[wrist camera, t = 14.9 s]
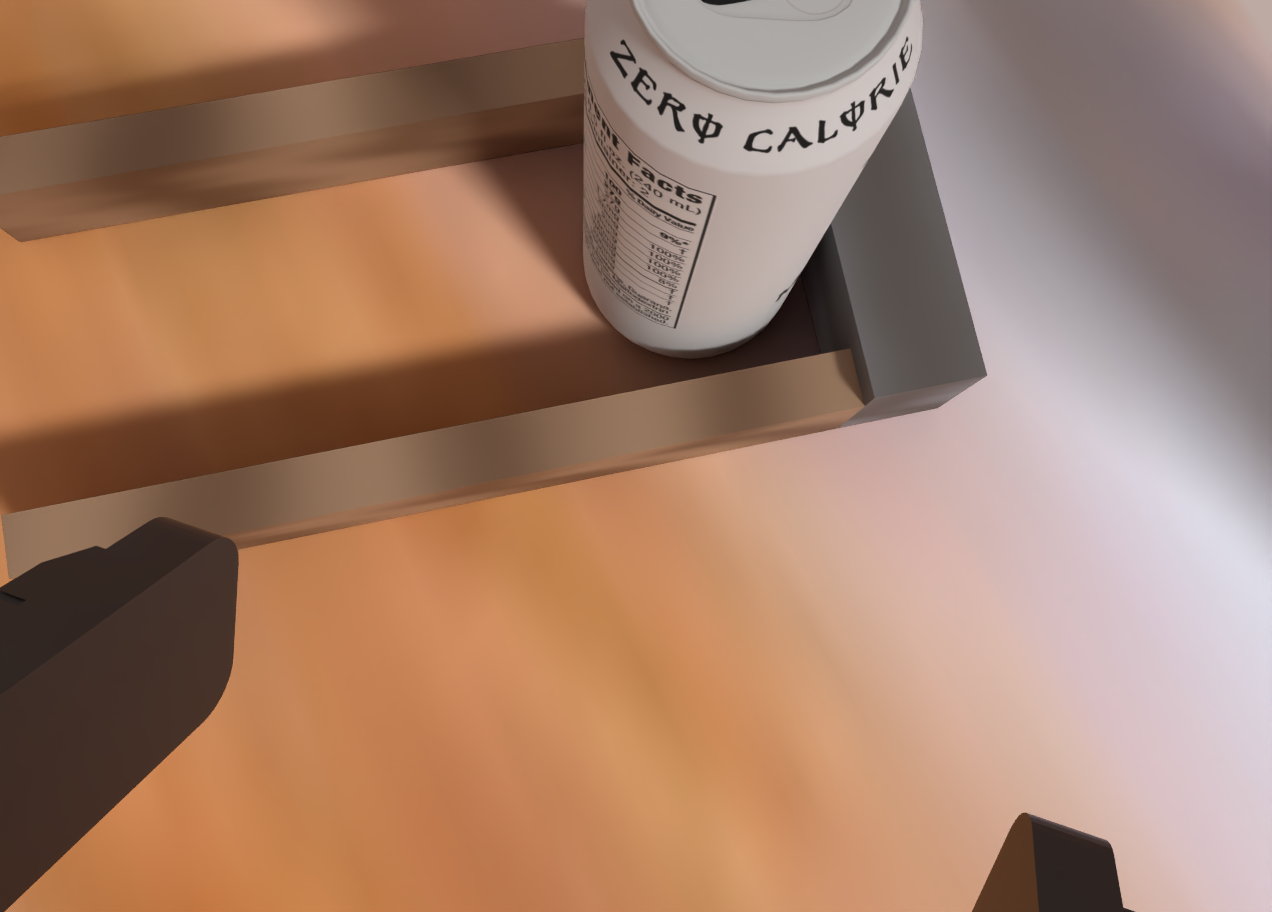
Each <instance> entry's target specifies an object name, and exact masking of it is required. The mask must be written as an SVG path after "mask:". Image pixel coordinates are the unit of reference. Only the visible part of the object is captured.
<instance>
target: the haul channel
mask: <svg viewBox="0 0 1272 912" xmlns="http://www.w3.org/2000/svg"><path fill="white" fill-rule="evenodd" d="M582 142H584V38H581V39H575V40H569V41H563V42H557V43H551V44H545V45H539V46H533V47H527V48H522V49H516V50H510V51H504V52H498V53H492V54H486V55H480V56H474V57H468V58H463V59H457V60H451V61H445V62H439V63H433V64H427V65H421V66H415V67H409V68H403V69H398V70H392V71H386V72H380V73H374V74H368V75H362V76H356V77H350V78H344V79H339V80H333V81H327V82H321V83H315V84H309V85H303V86H297V87H291V88H285V89H279V90H274V91H268V92H262V93H256V94H250V95H244V96H238V97H232V98H226V99H220V100H214V101H209V102H203V103H197V104H191V105H185V106H179V107H173V108H167V109H161V110H155V111H150V112H144V113H138V114H132V115H126V116H120V117H114V118H108V119H102V120H96V121H90V122H85V123H79V124H73V125H67V126H61V127H55V128H49V129H43V130H37V131H31V132H26V133H20V134H14V135H8V136H2V137H0V228H1V229H3V230H4V231H5V232H7V233H8V234H10V235H11V236H12V237H14V238H15V239H17V240H18V241H19V242H23V241H29V240H35V239H40V238H46V237H51V236H57V235H63V234H68V233H74V232H80V231H85V230H91V229H97V228H102V227H108V226H114V225H119V224H125V223H130V222H136V221H142V220H147V219H153V218H159V217H164V216H170V215H176V214H181V213H187V212H193V211H198V210H204V209H210V208H215V207H221V206H226V205H232V204H238V203H243V202H249V201H255V200H260V199H266V198H272V197H277V196H283V195H289V194H294V193H300V192H305V191H311V190H317V189H322V188H328V187H334V186H339V185H345V184H351V183H356V182H362V181H368V180H373V179H379V178H385V177H390V176H396V175H401V174H407V173H413V172H418V171H424V170H430V169H435V168H441V167H447V166H452V165H458V164H464V163H469V162H475V161H480V160H486V159H492V158H497V157H503V156H509V155H514V154H520V153H526V152H531V151H537V150H543V149H548V148H554V147H560V146H565V145H571V144H576V143H582ZM801 276H802V280H803V284H804V288H805V292H806V296H807V300H808V304H809V308H810V312H811V316H812V321H813V325H814V329H815V333H816V337H817V341H818V345H819V349H820V353H821V354H819V355H814V356H809V357H804V358H799V359H794V360H788V361H783V362H778V363H773V364H768V365H763V366H758V367H753V368H748V369H743V370H738V371H732V372H727V373H722V374H717V375H712V376H707V377H702V378H697V379H692V380H687V381H682V382H676V383H671V384H666V385H661V386H656V387H651V388H646V389H641V390H636V391H631V392H626V393H621V394H615V395H610V396H605V397H600V398H595V399H590V400H585V401H580V402H575V403H570V404H565V405H559V406H554V407H549V408H544V409H539V410H534V411H529V412H524V413H519V414H514V415H509V416H503V417H498V418H493V419H488V420H483V421H478V422H473V423H468V424H463V425H458V426H453V427H447V428H442V429H437V430H432V431H427V432H422V433H417V434H412V435H407V436H402V437H397V438H391V439H386V440H381V441H376V442H371V443H366V444H361V445H356V446H351V447H346V448H341V449H335V450H330V451H325V452H320V453H315V454H310V455H305V456H300V457H295V458H290V459H285V460H279V461H274V462H269V463H264V464H259V465H254V466H249V467H244V468H239V469H234V470H229V471H223V472H218V473H213V474H208V475H203V476H198V477H193V478H188V479H183V480H178V481H173V482H168V483H162V484H157V485H152V486H147V487H142V488H137V489H132V490H127V491H122V492H117V493H112V494H106V495H101V496H96V497H91V498H86V499H81V500H76V501H71V502H66V503H61V504H56V505H50V506H45V507H40V508H35V509H30V510H25V511H20V512H15V513H10V514H5V515H1V518H2V526H3V534H4V542H5V550H6V558H7V567H8V575H9V578H10V579H15V578H17V577H18V576H20V575H22V574H23V573H25V572H27V571H28V570H30V569H32V568H33V567H35V566H36V565H38V564H40V563H41V562H45V561H48V560H51V559H55V558H58V557H61V556H64V555H68V554H71V553H74V552H77V551H81V550H84V549H87V548H90V547H94V546H99V547H102V548H105V549H106V548H108V547H110V546H111V545H113V544H114V543H116V542H117V541H119V540H120V539H122V538H124V537H125V536H127V535H128V534H130V533H131V532H133V531H134V530H136V529H138V528H139V527H141V526H142V525H144V524H145V523H147V522H148V521H150V520H152V519H154V518H157V517H167V518H171V519H174V520H177V521H179V522H182V523H185V524H188V525H191V526H194V527H197V528H200V529H203V530H206V531H209V532H212V533H215V534H218V535H221V536H223V537H226V538H229V539H231V540H232V541H233V542H234V543H235V545H236V547H237V550H238V549H243V548H248V547H253V546H258V545H263V544H268V543H273V542H278V541H283V540H287V539H292V538H297V537H302V536H307V535H312V534H317V533H322V532H327V531H332V530H337V529H342V528H347V527H352V526H357V525H362V524H367V523H371V522H376V521H381V520H386V519H391V518H396V517H401V516H406V515H411V514H416V513H421V512H426V511H431V510H436V509H441V508H446V507H451V506H456V505H460V504H465V503H470V502H475V501H480V500H485V499H490V498H495V497H500V496H505V495H510V494H515V493H520V492H525V491H530V490H535V489H540V488H544V487H549V486H554V485H559V484H564V483H569V482H574V481H579V480H584V479H589V478H594V477H599V476H604V475H609V474H614V473H619V472H624V471H628V470H633V469H638V468H643V467H648V466H653V465H658V464H663V463H668V462H673V461H678V460H683V459H688V458H693V457H698V456H703V455H708V454H712V453H717V452H722V451H727V450H732V449H737V448H742V447H747V446H752V445H757V444H762V443H767V442H772V441H777V440H782V439H787V438H792V437H796V436H801V435H806V434H811V433H816V432H821V431H826V430H831V429H836V428H841V427H846V426H851V425H856V424H861V423H866V422H871V421H876V420H880V419H885V418H890V417H895V416H900V415H905V414H910V413H915V412H920V411H925V410H930V409H935V408H938V407H940V406H941V405H943V404H944V403H946V402H947V401H949V400H950V399H952V398H954V397H955V396H957V395H958V394H960V393H961V392H963V391H964V390H966V389H967V388H969V387H970V386H972V385H973V384H975V383H976V382H978V381H979V380H981V379H982V378H984V377H986V376H987V373H986V369H985V366H984V362H983V358H982V354H981V351H980V347H979V343H978V339H977V336H976V332H975V328H974V324H973V321H972V317H971V313H970V309H969V306H968V302H967V298H966V295H965V291H964V287H963V283H962V280H961V276H960V272H959V268H958V265H957V261H956V257H955V253H954V250H953V246H952V242H951V238H950V235H949V231H948V227H947V223H946V220H945V216H944V212H943V209H942V205H941V201H940V197H939V194H938V190H937V186H936V182H935V179H934V175H933V171H932V167H931V164H930V160H929V156H928V152H927V149H926V145H925V141H924V138H923V134H922V130H921V126H920V123H919V119H918V115H917V111H916V108H915V104H914V100H913V96H912V93H911V89H910V88H909V90H908V92H907V94H906V96H905V98H904V100H903V102H902V104H901V106H900V108H899V110H898V111H897V113H896V115H895V116H894V118H893V120H892V121H891V123H890V125H889V126H888V128H887V130H886V131H885V133H884V135H883V136H882V138H881V140H880V141H879V143H878V145H877V146H876V148H875V150H874V152H873V153H872V155H871V157H870V158H869V160H868V162H867V163H866V165H865V167H864V168H863V170H862V172H861V173H860V175H859V177H858V178H857V180H856V182H855V183H854V185H853V187H852V188H851V190H850V192H849V193H848V195H847V197H846V198H845V200H844V202H843V203H842V205H841V207H840V208H839V210H838V212H837V213H836V215H835V217H834V218H833V220H832V222H831V223H830V225H829V227H828V229H827V230H826V232H825V234H824V235H823V237H822V239H821V240H820V242H819V244H818V245H817V247H816V249H815V250H814V252H813V254H812V255H811V257H810V259H809V260H808V262H807V264H806V265H805V267H804V269H803V270H802V272H801Z"/></svg>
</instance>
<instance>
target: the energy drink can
mask: <svg viewBox="0 0 1272 912" xmlns="http://www.w3.org/2000/svg"><path fill="white" fill-rule="evenodd" d="M922 33H923V16H922V10H921V4H920V0H586V6H585V32H584V177H583V261H584V270H585V277H586V280H587V283H588V286H589V290H590V293H591V295H592V297H593V299H594V301H595V303H596V304H597V306H598V308H599V310H600V311H601V313H602V314H603V315H604V317H605V318H606V319H607V320H608V321H609V322H610V324H611V325H612V326H613V327H614V328H615V329H616V330H617V331H619V332H620V333H621V334H622V335H624V336H625V337H626V338H627V339H629V340H630V341H631V342H633V343H635V344H637V345H639V346H641V347H643V348H645V349H647V350H649V351H652V352H655V353H659V354H662V355H666V356H669V357H678V358H689V359H693V358H703V357H712V356H715V355H719V354H722V353H725V352H729V351H732V350H733V349H735V348H737V347H739V346H741V345H743V344H745V343H747V342H748V341H750V340H751V339H752V338H754V337H755V336H756V335H757V334H758V333H760V332H761V331H762V330H763V329H764V328H765V327H766V326H767V325H768V324H769V322H770V321H771V320H772V319H773V317H774V316H775V315H776V314H777V312H778V311H779V309H780V307H781V306H782V304H783V302H784V301H785V299H786V297H787V295H788V294H789V292H790V290H791V289H792V287H793V285H794V284H795V282H796V280H797V279H798V277H799V275H800V274H801V272H802V270H803V269H804V267H805V265H806V264H807V262H808V260H809V259H810V257H811V255H812V254H813V252H814V250H815V249H816V247H817V245H818V244H819V242H820V240H821V239H822V237H823V235H824V234H825V232H826V230H827V229H828V227H829V225H830V223H831V222H832V220H833V218H834V217H835V215H836V213H837V212H838V210H839V208H840V207H841V205H842V203H843V202H844V200H845V198H846V197H847V195H848V193H849V192H850V190H851V188H852V187H853V185H854V183H855V182H856V180H857V178H858V177H859V175H860V173H861V172H862V170H863V168H864V167H865V165H866V163H867V162H868V160H869V158H870V157H871V155H872V153H873V152H874V150H875V148H876V146H877V145H878V143H879V141H880V140H881V138H882V136H883V135H884V133H885V131H886V130H887V128H888V126H889V125H890V123H891V121H892V120H893V118H894V116H895V115H896V113H897V111H898V110H899V108H900V106H901V104H902V102H903V100H904V98H905V96H906V94H907V92H908V90H909V88H910V86H911V84H912V83H913V81H914V78H915V74H916V70H917V66H918V63H919V59H920V55H921V51H922Z"/></svg>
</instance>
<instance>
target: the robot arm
mask: <svg viewBox="0 0 1272 912" xmlns="http://www.w3.org/2000/svg"><path fill="white" fill-rule="evenodd" d="M237 581H238V550H237V547H236V545H235V543H234V542H233V541H232V540H231V539H229V538H226V537H223V536H221V535H218V534H215V533H212V532H209V531H206V530H203V529H200V528H197V527H194V526H191V525H188V524H185V523H182V522H179V521H177V520H174V519H171V518H167V517H157V518H154V519H152V520H150V521H148V522H147V523H145V524H144V525H142V526H141V527H139V528H138V529H136V530H134V531H133V532H131V533H130V534H128V535H127V536H125V537H124V538H122V539H120V540H119V541H117V542H116V543H114V544H113V545H111V546H110V547H108V548H106V549H105V548H102V547H99V546H94V547H90V548H87V549H84V550H81V551H77V552H74V553H71V554H68V555H64V556H61V557H58V558H55V559H51V560H48V561H45V562H41V563H40V564H38V565H36V566H35V567H33V568H32V569H30V570H28V571H27V572H25V573H23V574H22V575H20V576H18V577H17V578H15V579H14V580H12V581H10V582H9V583H7V584H5V585H4V586H2V587H1V588H0V912H4V911H6V910H7V909H8V908H9V907H10V906H11V905H12V904H13V903H14V902H15V901H16V900H17V899H18V898H19V897H20V896H21V895H22V894H23V893H24V892H25V891H26V890H28V889H29V888H30V887H31V886H32V885H33V884H34V883H35V882H36V881H37V880H38V879H39V878H40V877H41V876H42V875H43V874H44V873H45V872H46V871H47V870H49V869H50V868H51V867H52V866H53V865H54V864H55V863H56V862H57V861H58V860H59V859H60V858H61V857H62V856H63V855H64V854H65V853H66V852H67V851H68V850H70V849H71V848H72V847H73V846H74V845H75V844H76V843H77V842H78V841H79V840H80V839H81V838H82V837H83V836H84V835H85V834H86V833H87V832H88V831H89V830H90V829H92V828H93V827H94V826H95V825H96V824H97V823H98V822H99V821H100V820H101V819H102V818H103V817H104V816H105V815H106V814H107V813H108V812H109V811H110V810H111V809H113V808H114V807H115V806H116V805H117V804H118V803H119V802H120V801H121V800H122V799H123V798H124V797H125V796H126V795H127V794H128V793H129V792H130V791H131V790H132V789H133V788H135V787H136V786H137V785H138V784H139V783H140V782H141V781H142V780H143V779H144V778H145V777H146V776H147V775H148V774H149V773H150V772H151V771H152V770H153V769H154V768H156V767H157V766H158V765H159V764H160V763H161V762H162V761H163V760H164V759H165V758H166V757H167V756H168V755H169V754H170V753H171V752H172V751H173V750H174V749H175V748H176V747H178V746H179V745H180V744H181V743H182V742H183V741H184V740H185V739H186V738H187V737H188V736H189V735H190V734H191V733H192V732H193V731H194V730H195V729H196V728H197V727H199V726H200V725H201V724H202V723H203V722H204V721H205V720H206V718H207V717H208V716H209V715H210V714H211V712H212V711H213V710H214V708H215V707H216V705H217V704H218V702H219V700H220V698H221V697H222V694H223V692H224V690H225V688H226V685H227V683H228V680H229V677H230V674H231V669H232V664H233V653H234V635H235V617H236V599H237ZM972 912H1134V911H1131V910H1129V909H1126V908H1123V904H1122V898H1121V893H1120V887H1119V881H1118V876H1117V870H1116V864H1115V858H1114V854H1113V849H1112V847H1111V845H1110V843H1109V842H1108V841H1107V840H1104V839H1101V838H1098V837H1095V836H1093V835H1090V834H1087V833H1084V832H1081V831H1078V830H1075V829H1072V828H1069V827H1066V826H1063V825H1060V824H1057V823H1054V822H1051V821H1049V820H1046V819H1043V818H1040V817H1037V816H1034V815H1031V814H1028V813H1022V814H1021V815H1019V816H1018V818H1017V819H1016V820H1015V822H1014V823H1013V825H1012V827H1011V829H1010V831H1009V833H1008V835H1007V837H1006V840H1005V842H1004V844H1003V846H1002V848H1001V850H1000V853H999V855H998V857H997V859H996V861H995V863H994V865H993V868H992V870H991V872H990V874H989V876H988V878H987V880H986V883H985V885H984V887H983V889H982V891H981V893H980V896H979V898H978V900H977V902H976V904H975V906H974V908H973V911H972Z"/></svg>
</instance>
